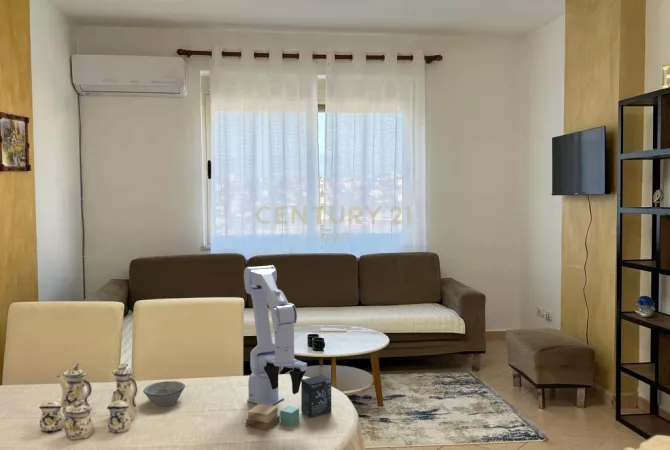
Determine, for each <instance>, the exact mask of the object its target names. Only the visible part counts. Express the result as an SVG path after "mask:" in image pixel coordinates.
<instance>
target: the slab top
mask: <svg viewBox="0 0 670 450" xmlns="http://www.w3.org/2000/svg"><path fill="white" fill-rule="evenodd" d="M276 415H278V406H277V405H265V404H257V403H256V405H255V406H253V407H252V408H251V409H249V410H248V411H247V419H248V420H252V421H259V422H265V423H268V422H269V421H271V420H272V419H273V418H274V417H275V416H276Z"/></svg>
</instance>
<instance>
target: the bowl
mask: <svg viewBox="0 0 670 450" xmlns="http://www.w3.org/2000/svg"><path fill="white" fill-rule="evenodd" d="M185 388H186V385H185V384H184V383H183V382H181V381H177V380H176V381H175V380H173V381H170V380H169V381H168V380H167V381H159V382H155V383H151V384H148V385H147V386H145V388H144V389H143V390H142V391H143V394H145V396H146V397H147V399H148V400H149V402H150V403H151V404H152V405H153V404H154V405H153V406H156V405H157V407H167V406H171V405H173V403H174V404H176V403H177V402H178V401H179V399H180V396H182V395H181V394H182V393H183V392H184V389H185ZM175 402H176V403H175ZM166 405H167V406H166Z"/></svg>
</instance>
